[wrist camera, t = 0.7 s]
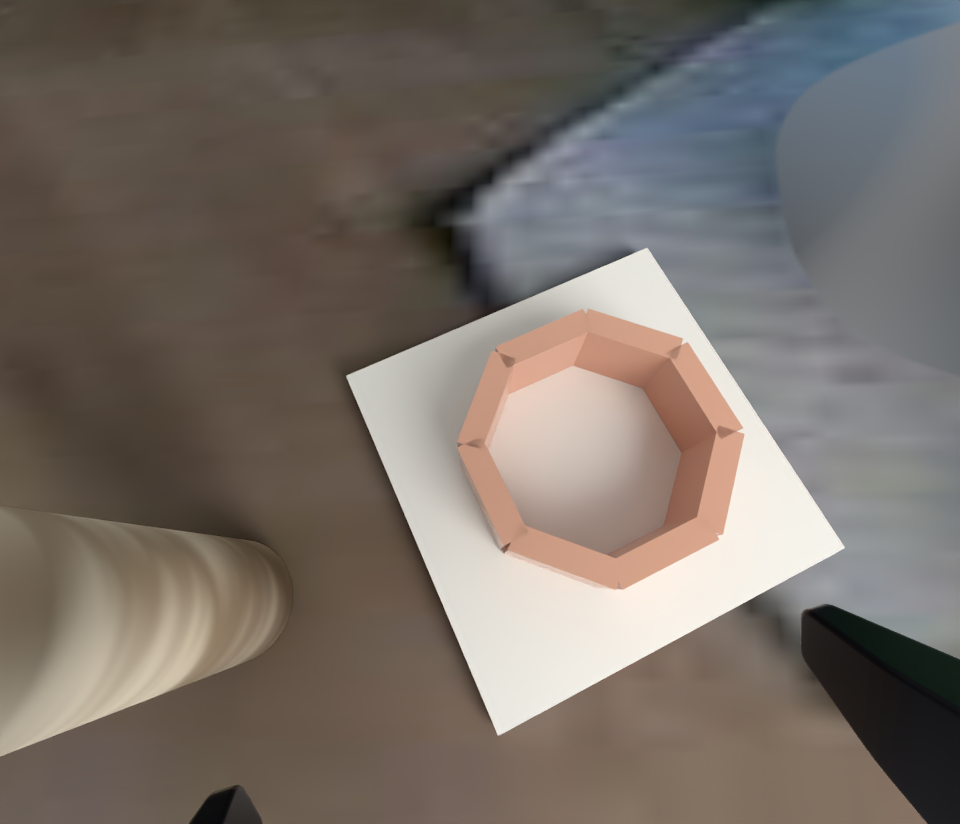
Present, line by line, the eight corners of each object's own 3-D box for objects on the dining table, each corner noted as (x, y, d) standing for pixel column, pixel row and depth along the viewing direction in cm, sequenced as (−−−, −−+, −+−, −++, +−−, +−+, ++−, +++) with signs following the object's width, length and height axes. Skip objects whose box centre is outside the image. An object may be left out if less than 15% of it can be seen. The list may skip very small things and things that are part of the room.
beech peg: (309, 631, 21) (75, 712, 9) (191, 688, 21) (-235, 860, 8) (271, 520, 23) (21, 458, 10) (159, 571, 22) (-251, 569, 10)
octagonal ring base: (829, 548, 22) (912, 543, 18) (497, 728, 20) (501, 769, 16) (641, 259, 27) (672, 199, 22) (351, 383, 25) (323, 343, 20)
